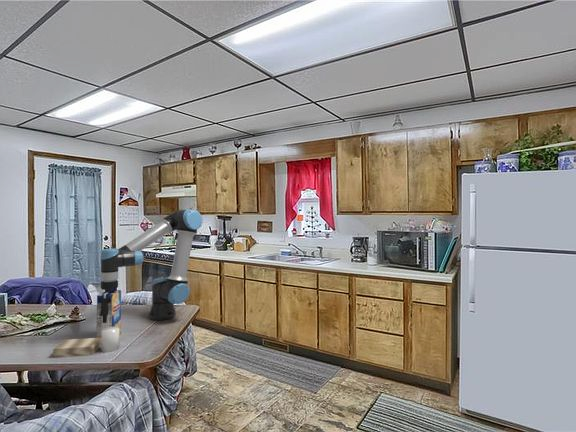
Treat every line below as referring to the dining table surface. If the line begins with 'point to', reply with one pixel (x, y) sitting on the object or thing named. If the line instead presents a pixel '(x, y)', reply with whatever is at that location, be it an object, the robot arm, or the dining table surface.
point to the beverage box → (110, 311)
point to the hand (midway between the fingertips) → (109, 325)
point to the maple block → (77, 347)
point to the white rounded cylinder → (110, 339)
